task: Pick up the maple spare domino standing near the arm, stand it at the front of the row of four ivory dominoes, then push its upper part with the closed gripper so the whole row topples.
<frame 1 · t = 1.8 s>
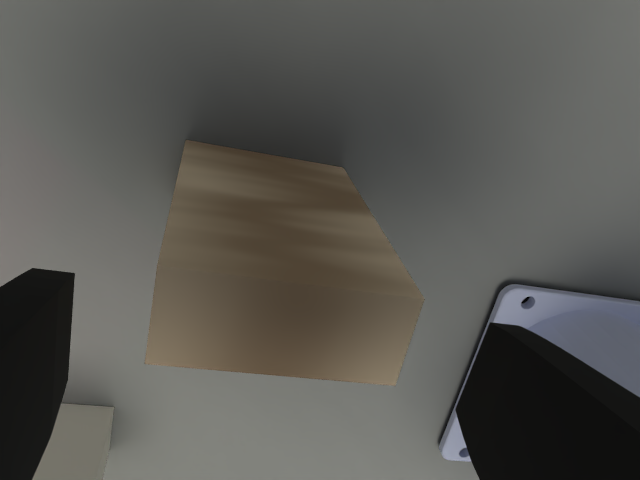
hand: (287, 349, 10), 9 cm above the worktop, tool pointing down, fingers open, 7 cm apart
domino 2: (40, 424, 20), on the worktop
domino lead: (261, 185, 18), on the worktop
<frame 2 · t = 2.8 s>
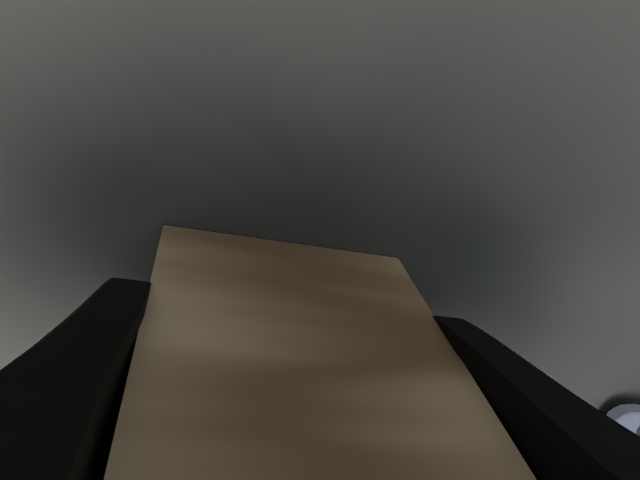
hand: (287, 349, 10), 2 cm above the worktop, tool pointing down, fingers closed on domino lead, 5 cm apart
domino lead: (276, 285, 12), on the worktop, touching gripper
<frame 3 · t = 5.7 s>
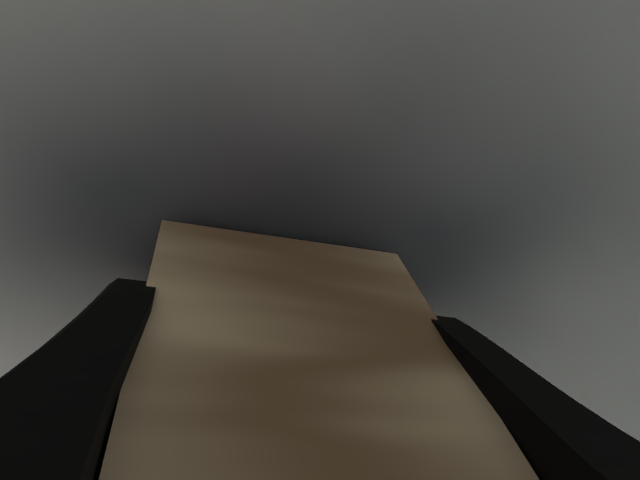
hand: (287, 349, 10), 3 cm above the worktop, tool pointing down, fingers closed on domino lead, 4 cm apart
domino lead: (275, 281, 12), on the worktop, touching gripper
when the fingers open (3 cm above the worktop, at t = 6.0 s): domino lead stays where it is, on the worktop.
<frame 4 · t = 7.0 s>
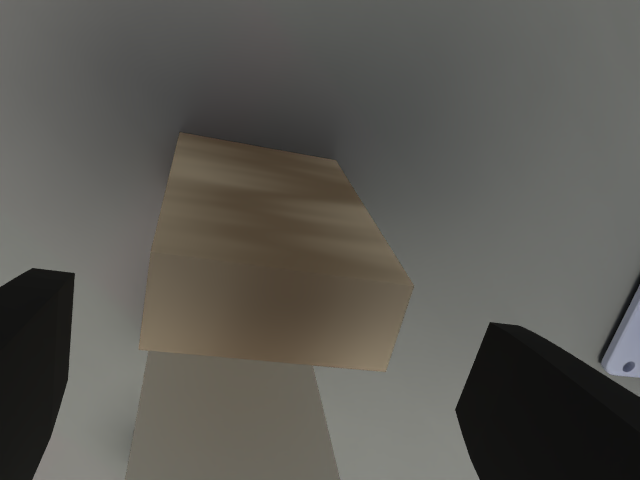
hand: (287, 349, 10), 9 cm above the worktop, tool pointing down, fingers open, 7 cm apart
domino 2: (226, 328, 20), on the worktop
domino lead: (254, 177, 18), on the worktop
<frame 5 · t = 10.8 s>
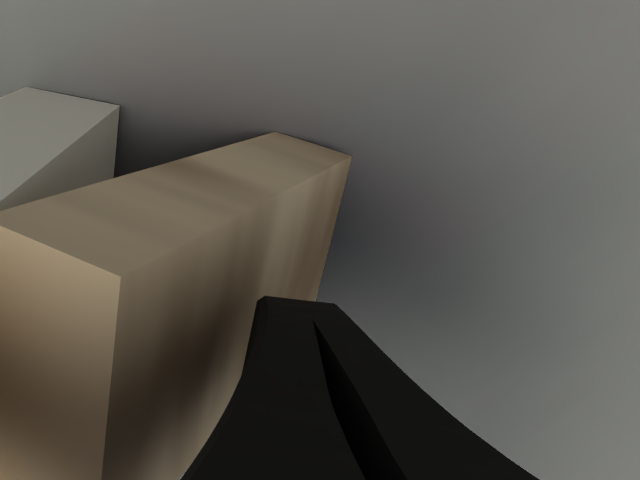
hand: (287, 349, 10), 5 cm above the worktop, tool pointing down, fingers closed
domino 2: (67, 196, 14), on the worktop
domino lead: (292, 235, 14), on the worktop, tilted 31°
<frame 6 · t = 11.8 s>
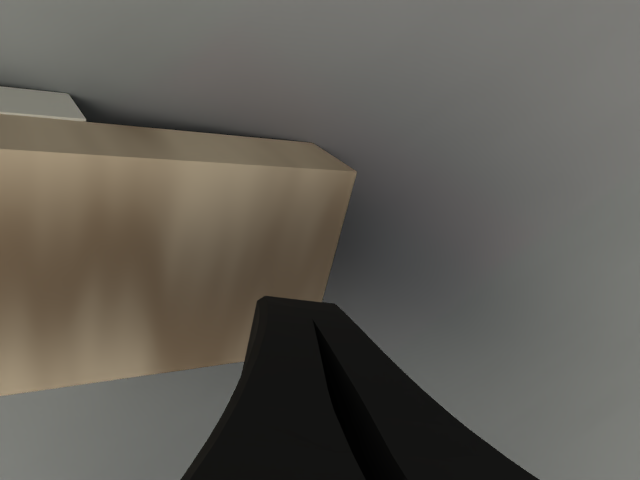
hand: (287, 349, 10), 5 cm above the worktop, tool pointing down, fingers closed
domino 2: (70, 211, 13), point 1 cm above the worktop, tilted 68°, touching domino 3, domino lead
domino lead: (310, 248, 14), point 1 cm above the worktop, tilted 69°, touching domino 2
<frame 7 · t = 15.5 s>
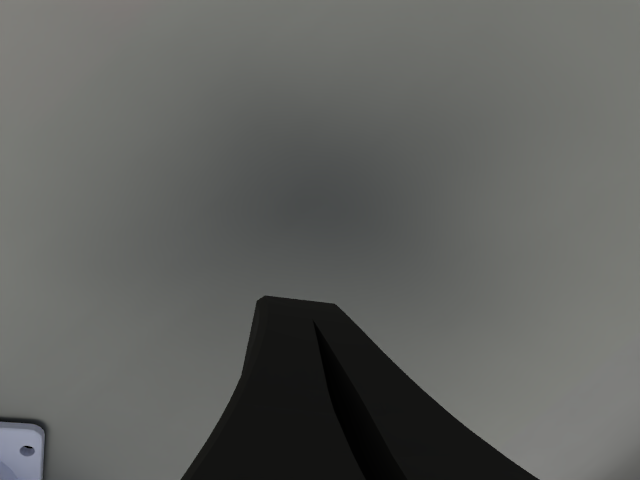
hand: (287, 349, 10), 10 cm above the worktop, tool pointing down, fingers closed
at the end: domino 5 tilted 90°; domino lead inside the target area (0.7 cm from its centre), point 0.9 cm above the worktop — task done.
